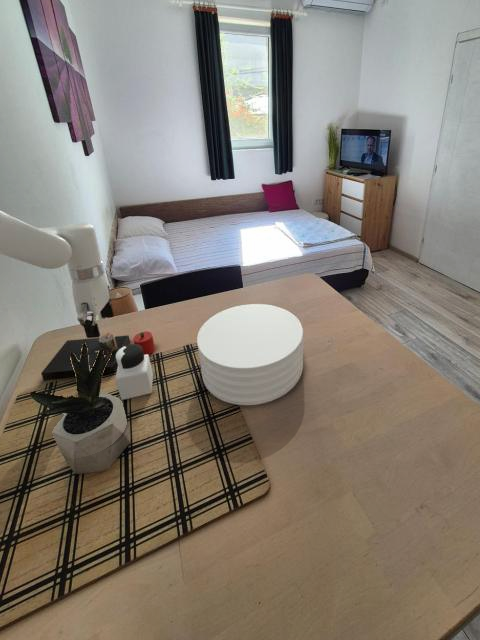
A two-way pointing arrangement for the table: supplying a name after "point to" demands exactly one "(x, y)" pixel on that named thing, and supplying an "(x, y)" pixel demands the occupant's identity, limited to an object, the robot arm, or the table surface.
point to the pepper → (145, 342)
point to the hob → (62, 363)
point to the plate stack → (251, 353)
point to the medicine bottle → (133, 372)
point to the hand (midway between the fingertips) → (101, 326)
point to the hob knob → (108, 343)
